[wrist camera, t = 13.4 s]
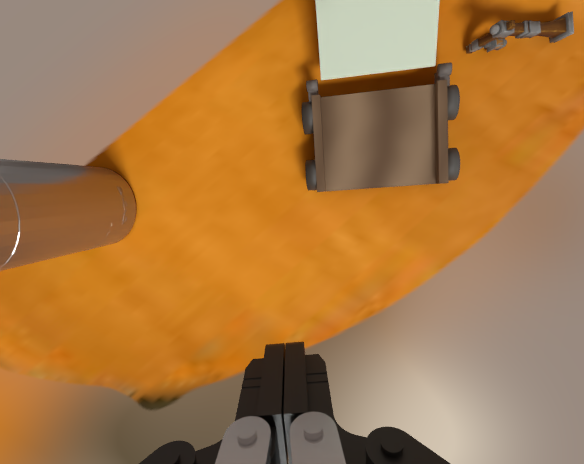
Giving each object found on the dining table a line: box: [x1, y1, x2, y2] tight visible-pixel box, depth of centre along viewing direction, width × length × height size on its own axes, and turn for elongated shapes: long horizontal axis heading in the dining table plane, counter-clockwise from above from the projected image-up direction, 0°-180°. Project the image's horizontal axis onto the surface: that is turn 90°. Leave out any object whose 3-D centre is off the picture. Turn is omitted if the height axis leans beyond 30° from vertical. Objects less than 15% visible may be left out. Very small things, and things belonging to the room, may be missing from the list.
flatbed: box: [302, 63, 460, 192], centre depth 32 cm, size 14×10×3 cm
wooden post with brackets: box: [466, 12, 574, 53], centre depth 29 cm, size 2×8×4 cm, turn 99°
